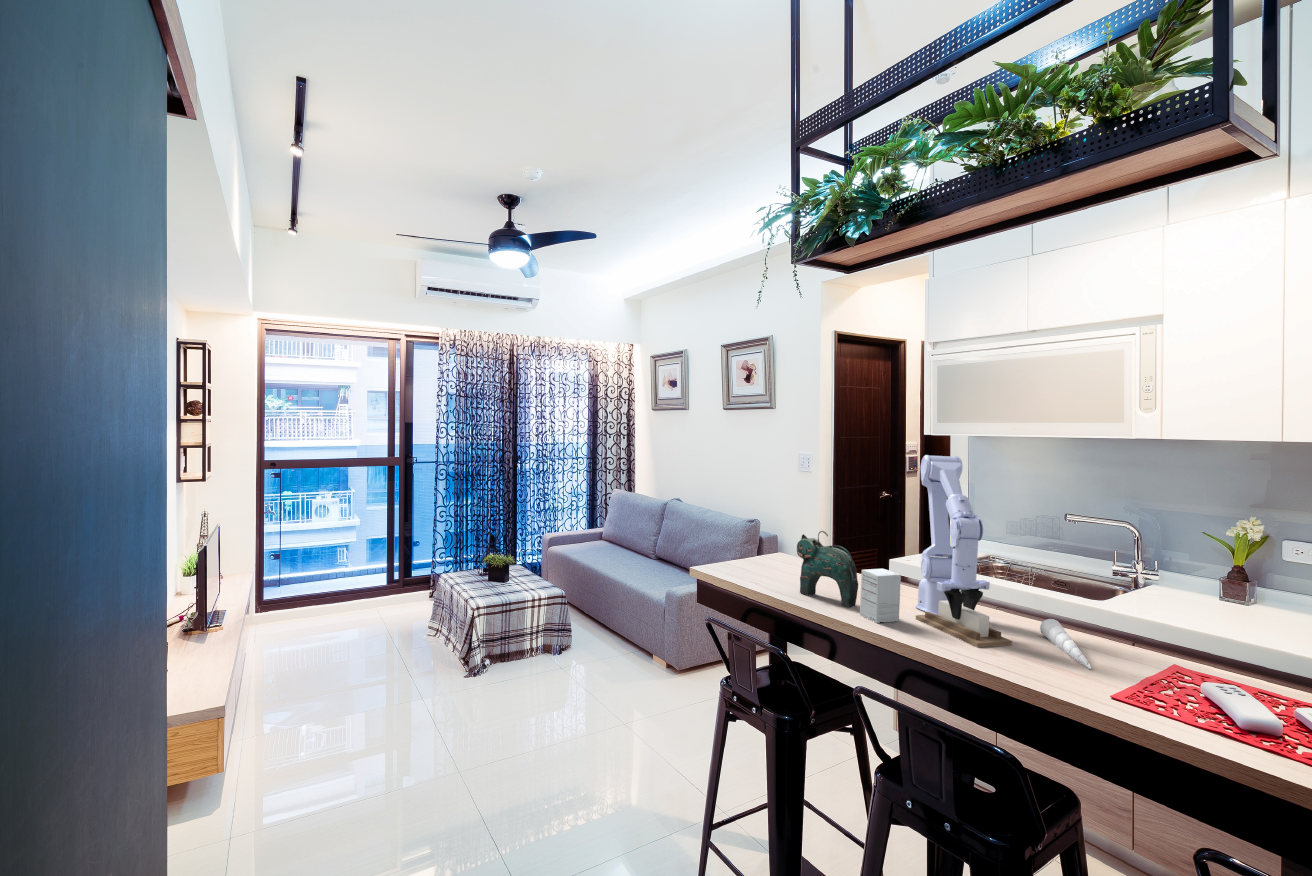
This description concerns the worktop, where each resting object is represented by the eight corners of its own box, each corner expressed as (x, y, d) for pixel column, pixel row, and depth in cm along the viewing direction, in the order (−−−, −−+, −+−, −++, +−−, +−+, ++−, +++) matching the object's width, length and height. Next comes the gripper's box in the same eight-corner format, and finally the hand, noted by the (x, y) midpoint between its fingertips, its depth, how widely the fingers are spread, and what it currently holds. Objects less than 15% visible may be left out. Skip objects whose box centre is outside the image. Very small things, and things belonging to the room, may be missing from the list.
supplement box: (881, 613, 176) (883, 567, 175) (899, 621, 169) (902, 574, 168) (858, 615, 173) (860, 568, 173) (876, 623, 166) (878, 575, 166)
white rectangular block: (937, 619, 169) (938, 600, 168) (947, 618, 169) (948, 600, 169) (978, 637, 155) (979, 616, 155) (988, 636, 156) (989, 616, 156)
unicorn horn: (1071, 668, 140) (1072, 646, 140) (1038, 635, 163) (1039, 616, 162) (1096, 672, 138) (1097, 650, 138) (1059, 638, 161) (1061, 619, 161)
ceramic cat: (792, 592, 194) (795, 527, 194) (806, 589, 198) (809, 525, 198) (848, 609, 179) (851, 538, 178) (862, 606, 183) (865, 536, 182)
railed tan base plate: (915, 618, 172) (916, 609, 172) (946, 617, 175) (947, 608, 174) (977, 647, 151) (978, 636, 151) (1011, 644, 153) (1012, 634, 153)
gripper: (951, 569, 156) (949, 624, 157) (1000, 567, 160) (997, 621, 161) (932, 562, 163) (929, 615, 163) (978, 561, 167) (976, 612, 167)
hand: (961, 617), depth 163 cm, fingers closed on white rectangular block, 3 cm apart
